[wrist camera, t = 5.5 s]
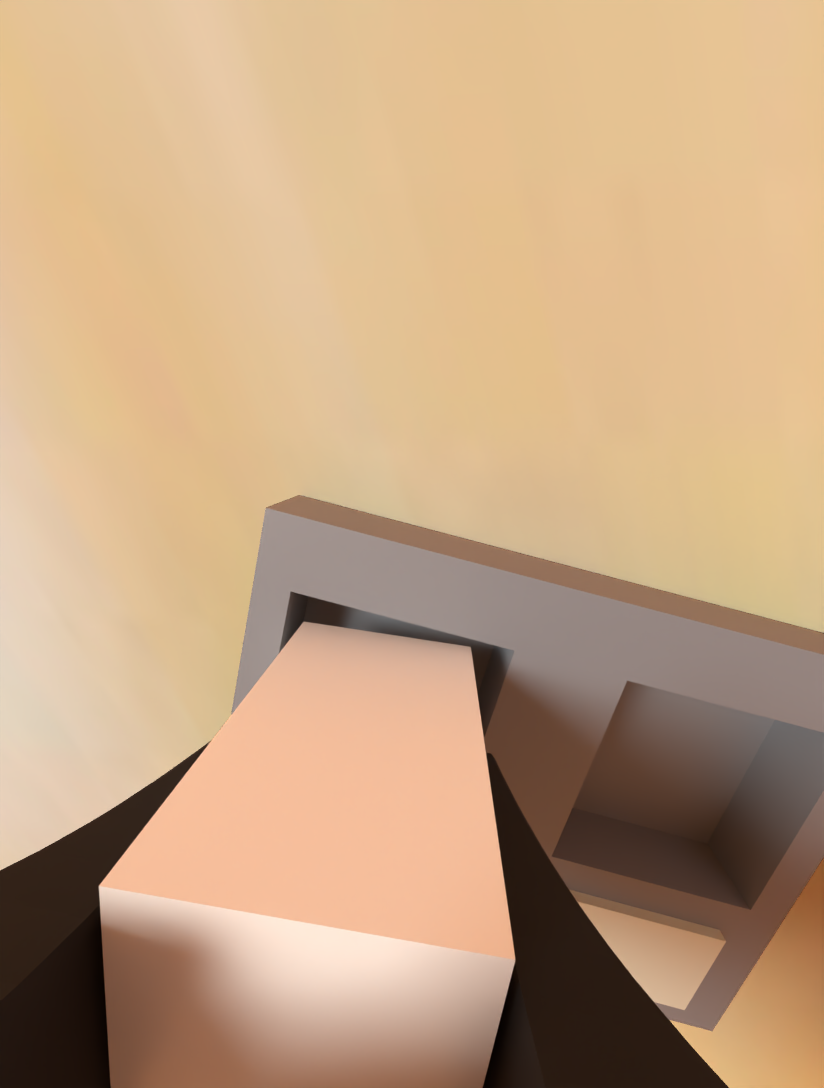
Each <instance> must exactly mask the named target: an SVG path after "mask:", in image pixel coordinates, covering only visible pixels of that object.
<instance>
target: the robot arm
mask: <svg viewBox="0 0 824 1088" xmlns="http://www.w3.org/2000/svg"><path fill="white" fill-rule="evenodd" d="M211 741H212V740H211ZM211 741H210V742H211ZM210 742H209V743H210ZM209 743H207V744H206V745H205V746H203V747H202V748H200V749H199V750H198V751H196V752H195V753H194V754H192V755H191V756H189V757H188V758H187V759H185V760H184V761H182V762H181V763H180V764H178V765H177V766H175V767H174V768H173V769H171V770H170V771H168V772H167V773H166V774H164V775H163V776H161V777H160V778H158V779H157V780H156V781H154V782H153V783H151V784H149V785H148V786H146V787H145V788H143V789H142V790H140V791H139V792H137V793H136V794H134V795H133V796H131V797H130V798H128V799H127V800H125V801H124V802H122V803H121V804H119V805H118V806H116V807H114V808H113V809H111V810H110V811H108V812H106V813H105V814H103V815H101V816H100V817H98V818H96V819H95V820H93V821H91V822H90V823H88V824H86V825H84V826H83V827H81V828H79V829H77V830H76V831H74V832H72V833H70V834H69V835H67V836H65V837H63V838H62V839H60V840H58V841H56V842H54V843H53V844H51V845H49V846H47V847H45V848H43V849H42V850H40V851H38V852H36V853H34V854H32V855H30V856H28V857H26V858H24V859H22V860H20V861H18V862H16V863H14V864H12V865H10V866H8V867H6V868H4V869H2V870H0V1088H111V1085H110V1068H109V1051H108V1034H107V1017H106V1000H105V983H104V966H103V949H102V932H101V915H100V898H99V885H100V884H101V883H102V881H103V880H104V879H105V877H106V876H107V875H108V874H109V872H110V871H111V870H112V868H113V867H114V866H115V864H116V863H117V862H118V861H119V859H120V858H121V857H122V855H123V854H124V853H125V852H126V850H127V849H128V848H129V846H130V845H131V844H132V843H133V841H134V840H135V839H136V837H137V836H138V835H139V834H140V832H141V831H142V830H143V828H144V827H145V826H146V824H147V823H148V822H149V821H150V819H151V818H152V817H153V815H154V814H155V813H156V812H157V810H158V809H159V808H160V806H161V805H162V804H163V803H164V801H165V800H166V799H167V797H168V796H169V795H170V794H171V792H172V791H173V790H174V788H175V787H176V786H177V784H178V783H179V782H180V781H181V779H182V778H183V777H184V775H185V774H186V773H187V772H188V770H189V769H190V768H191V766H192V765H193V764H194V763H195V761H196V760H197V759H198V757H199V756H200V755H201V754H202V752H203V751H204V750H205V748H206V747H207V746H208V744H209ZM486 757H487V764H488V771H489V778H490V785H491V792H492V799H493V806H494V813H495V820H496V827H497V834H498V841H499V848H500V855H501V862H502V869H503V876H504V883H505V890H506V897H507V904H508V911H509V918H510V925H511V932H512V939H513V946H514V953H515V964H514V968H513V971H512V975H511V979H510V983H509V987H508V991H507V995H506V999H505V1003H504V1007H503V1010H502V1014H501V1018H500V1022H499V1026H498V1030H497V1034H496V1038H495V1042H494V1045H493V1049H492V1053H491V1057H490V1061H489V1065H488V1069H487V1073H486V1077H485V1081H484V1084H483V1088H729V1087H728V1086H727V1085H726V1084H725V1083H724V1082H723V1081H722V1080H721V1079H720V1078H719V1076H718V1075H717V1074H716V1073H715V1072H714V1071H713V1070H712V1069H711V1068H710V1067H709V1065H708V1064H707V1063H706V1062H705V1061H704V1060H703V1059H702V1058H701V1057H700V1056H699V1054H698V1053H697V1052H696V1051H695V1050H694V1049H693V1048H692V1046H691V1045H690V1044H689V1043H688V1042H687V1041H686V1040H685V1038H684V1037H683V1036H682V1035H681V1034H680V1033H679V1031H678V1030H677V1029H676V1028H675V1027H674V1025H673V1024H672V1023H671V1022H670V1021H669V1019H668V1018H667V1017H666V1016H665V1015H664V1013H663V1012H662V1011H661V1010H660V1009H659V1007H658V1006H657V1005H656V1004H655V1003H654V1001H653V1000H652V999H651V998H650V997H649V995H648V994H647V993H646V992H645V991H644V989H643V988H642V987H641V986H640V985H639V983H638V982H637V981H636V980H635V979H634V977H633V976H632V975H631V974H630V972H629V971H628V970H627V969H626V967H625V966H624V965H623V963H622V962H621V961H620V959H619V958H618V957H617V956H616V954H615V953H614V952H613V950H612V949H611V948H610V946H609V945H608V944H607V942H606V941H605V940H604V938H603V937H602V936H601V934H600V933H599V931H598V930H597V929H596V927H595V926H594V925H593V923H592V922H591V921H590V919H589V918H588V916H587V915H586V914H585V912H584V911H583V909H582V908H581V906H580V905H579V903H578V902H577V901H576V899H575V898H574V896H573V895H572V893H571V892H570V890H569V889H568V887H567V886H566V884H565V882H564V881H563V879H562V878H561V876H560V875H559V873H558V872H557V870H556V869H555V867H554V865H553V864H552V862H551V861H550V859H549V857H548V856H547V854H546V852H545V851H544V849H543V848H542V846H541V844H540V842H539V841H538V839H537V837H536V836H535V834H534V832H533V830H532V829H531V827H530V825H529V823H528V822H527V820H526V818H525V816H524V815H523V813H522V811H521V809H520V807H519V806H518V804H517V802H516V800H515V798H514V796H513V794H512V792H511V790H510V788H509V786H508V784H507V782H506V780H505V778H504V776H503V774H502V772H501V770H500V768H499V766H498V764H497V762H496V760H495V758H494V757H493V755H492V754H491V753H486Z"/></svg>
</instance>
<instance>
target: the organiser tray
mask: <svg viewBox="0 0 824 1088" xmlns="http://www.w3.org/2000/svg"><path fill="white" fill-rule="evenodd" d="M303 622H310V623H317V624H323V625H330V626H337V627H343V628H350V629H356V630H363V631H370V632H376V633H383V634H389V635H396V636H403V637H409V638H416V639H422V640H429V641H436V642H442V643H449V644H456V645H462V646H469V647H471V652H472V659H473V666H474V673H475V680H476V687H477V694H478V701H479V708H480V715H481V722H482V729H483V736H484V743H485V750H486V753H491V754H492V755H493V757H494V758H495V760H496V762H497V764H498V766H499V768H500V770H501V772H502V774H503V776H504V778H505V780H506V782H507V784H508V786H509V788H510V790H511V792H512V794H513V796H514V798H515V800H516V802H517V804H518V806H519V807H520V809H521V811H522V813H523V815H524V816H525V818H526V820H527V822H528V823H529V825H530V827H531V829H532V830H533V832H534V834H535V836H536V837H537V839H538V841H539V842H540V844H541V846H542V848H543V849H544V851H545V852H546V854H547V856H548V857H549V859H550V861H551V862H552V864H553V865H554V867H555V869H556V870H557V872H558V873H559V875H560V876H561V878H562V879H563V881H564V882H565V884H566V886H567V887H568V889H569V890H570V892H571V893H572V895H573V896H574V898H575V899H576V901H577V902H578V903H579V905H580V906H581V908H582V909H583V911H584V912H585V914H586V915H587V916H588V918H589V919H590V921H591V922H592V923H593V925H594V926H595V927H596V929H597V930H598V931H599V933H600V934H601V936H602V937H603V938H604V940H605V941H606V942H607V944H608V945H609V946H610V948H611V949H612V950H613V952H614V953H615V954H616V956H617V957H618V958H619V959H620V961H621V962H622V963H623V965H624V966H625V967H626V969H627V970H628V971H629V972H630V974H631V975H632V976H633V977H634V979H635V980H636V981H637V982H638V983H639V985H640V986H641V987H642V988H643V989H644V991H645V992H646V993H647V994H648V995H649V997H650V998H651V999H652V1000H653V1001H654V1003H655V1004H656V1005H657V1006H658V1007H659V1009H660V1010H661V1011H662V1012H663V1013H664V1015H665V1016H666V1017H667V1018H668V1019H669V1020H673V1021H677V1022H680V1023H684V1024H688V1025H691V1026H695V1027H699V1028H702V1029H706V1030H710V1031H713V1029H714V1028H715V1026H716V1025H717V1023H718V1021H719V1020H720V1018H721V1017H722V1015H723V1014H724V1012H725V1011H726V1009H727V1007H728V1006H729V1004H730V1003H731V1001H732V1000H733V998H734V997H735V995H736V993H737V992H738V990H739V989H740V987H741V986H742V984H743V982H744V981H745V979H746V978H747V976H748V975H749V973H750V972H751V970H752V968H753V967H754V965H755V964H756V962H757V961H758V959H759V958H760V956H761V954H762V953H763V951H764V950H765V948H766V947H767V945H768V943H769V942H770V940H771V939H772V937H773V936H774V934H775V933H776V931H777V929H778V928H779V926H780V925H781V923H782V922H783V920H784V919H785V917H786V915H787V914H788V912H789V911H790V909H791V908H792V906H793V904H794V903H795V901H796V900H797V898H798V897H799V895H800V894H801V892H802V890H803V889H804V887H805V886H806V884H807V883H808V881H809V880H810V878H811V876H812V875H813V873H814V872H815V870H816V869H817V867H818V866H819V864H820V862H821V861H822V859H823V858H824V633H821V632H817V631H813V630H810V629H806V628H802V627H798V626H794V625H791V624H787V623H783V622H779V621H775V620H772V619H768V618H764V617H760V616H756V615H753V614H749V613H745V612H741V611H737V610H734V609H730V608H726V607H722V606H718V605H715V604H711V603H707V602H703V601H699V600H696V599H692V598H688V597H684V596H680V595H677V594H673V593H669V592H665V591H661V590H658V589H654V588H650V587H646V586H642V585H639V584H635V583H631V582H627V581H623V580H620V579H616V578H612V577H608V576H604V575H601V574H597V573H593V572H589V571H585V570H582V569H578V568H574V567H570V566H566V565H563V564H559V563H555V562H551V561H547V560H544V559H540V558H536V557H532V556H528V555H524V554H521V553H517V552H513V551H509V550H505V549H502V548H498V547H494V546H490V545H486V544H483V543H479V542H475V541H471V540H467V539H464V538H460V537H456V536H452V535H448V534H445V533H441V532H437V531H433V530H429V529H426V528H422V527H418V526H414V525H410V524H407V523H403V522H399V521H395V520H391V519H388V518H384V517H380V516H376V515H372V514H369V513H365V512H361V511H357V510H353V509H350V508H346V507H342V506H338V505H334V504H331V503H327V502H323V501H319V500H315V499H312V498H308V497H304V496H300V495H298V496H295V497H293V498H290V499H288V500H285V501H282V502H280V503H277V504H274V505H272V506H269V507H267V508H266V510H265V516H264V522H263V528H262V534H261V540H260V546H259V552H258V558H257V564H256V570H255V576H254V582H253V588H252V594H251V600H250V606H249V612H248V618H247V624H246V630H245V636H244V642H243V648H242V654H241V660H240V666H239V672H238V678H237V684H236V690H235V696H234V702H233V707H232V713H231V715H232V714H233V712H234V711H235V710H236V708H237V707H238V706H239V704H240V703H241V702H242V701H243V699H244V698H245V697H246V695H247V694H248V693H249V692H250V690H251V689H252V688H253V686H254V685H255V684H256V683H257V681H258V680H259V679H260V677H261V676H262V675H263V674H264V672H265V671H266V670H267V668H268V667H269V666H270V664H271V663H272V662H273V661H274V659H275V658H276V657H277V655H278V654H279V653H280V652H281V650H282V649H283V648H284V646H285V645H286V644H287V643H288V641H289V640H290V639H291V637H292V636H293V635H294V634H295V632H296V631H297V630H298V628H299V627H300V626H301V624H302V623H303Z"/></svg>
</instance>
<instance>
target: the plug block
mask: <svg viewBox="0 0 824 1088" xmlns="http://www.w3.org/2000/svg"><path fill="white" fill-rule="evenodd" d="M99 898H100V915H101V932H102V949H103V966H104V983H105V1000H106V1017H107V1034H108V1051H109V1068H110V1085H111V1088H483V1084H484V1081H485V1077H486V1073H487V1069H488V1065H489V1061H490V1057H491V1053H492V1049H493V1045H494V1042H495V1038H496V1034H497V1030H498V1026H499V1022H500V1018H501V1014H502V1010H503V1007H504V1003H505V999H506V995H507V991H508V987H509V983H510V979H511V975H512V971H513V968H514V964H515V953H514V946H513V939H512V932H511V925H510V918H509V911H508V904H507V897H506V890H505V883H504V876H503V869H502V862H501V855H500V848H499V841H498V834H497V827H496V820H495V813H494V806H493V799H492V792H491V785H490V778H489V771H488V764H487V757H486V750H485V743H484V736H483V729H482V722H481V715H480V708H479V701H478V694H477V687H476V680H475V673H474V666H473V659H472V652H471V647H469V646H462V645H456V644H449V643H442V642H436V641H429V640H422V639H416V638H409V637H403V636H396V635H389V634H383V633H376V632H370V631H363V630H356V629H350V628H343V627H337V626H330V625H323V624H317V623H310V622H303V623H302V624H301V626H300V627H299V628H298V630H297V631H296V632H295V634H294V635H293V636H292V637H291V639H290V640H289V641H288V643H287V644H286V645H285V646H284V648H283V649H282V650H281V652H280V653H279V654H278V655H277V657H276V658H275V659H274V661H273V662H272V663H271V664H270V666H269V667H268V668H267V670H266V671H265V672H264V674H263V675H262V676H261V677H260V679H259V680H258V681H257V683H256V684H255V685H254V686H253V688H252V689H251V690H250V692H249V693H248V694H247V695H246V697H245V698H244V699H243V701H242V702H241V703H240V704H239V706H238V707H237V708H236V710H235V711H234V712H233V714H232V715H231V716H230V717H229V719H228V720H227V721H226V723H225V724H224V725H223V726H222V728H221V729H220V730H219V732H218V733H217V734H216V735H215V737H214V738H213V739H212V741H211V742H210V743H209V744H208V746H207V747H206V748H205V750H204V751H203V752H202V754H201V755H200V756H199V757H198V759H197V760H196V761H195V763H194V764H193V765H192V766H191V768H190V769H189V770H188V772H187V773H186V774H185V775H184V777H183V778H182V779H181V781H180V782H179V783H178V784H177V786H176V787H175V788H174V790H173V791H172V792H171V794H170V795H169V796H168V797H167V799H166V800H165V801H164V803H163V804H162V805H161V806H160V808H159V809H158V810H157V812H156V813H155V814H154V815H153V817H152V818H151V819H150V821H149V822H148V823H147V824H146V826H145V827H144V828H143V830H142V831H141V832H140V834H139V835H138V836H137V837H136V839H135V840H134V841H133V843H132V844H131V845H130V846H129V848H128V849H127V850H126V852H125V853H124V854H123V855H122V857H121V858H120V859H119V861H118V862H117V863H116V864H115V866H114V867H113V868H112V870H111V871H110V872H109V874H108V875H107V876H106V877H105V879H104V880H103V881H102V883H101V884H100V885H99Z"/></svg>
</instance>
